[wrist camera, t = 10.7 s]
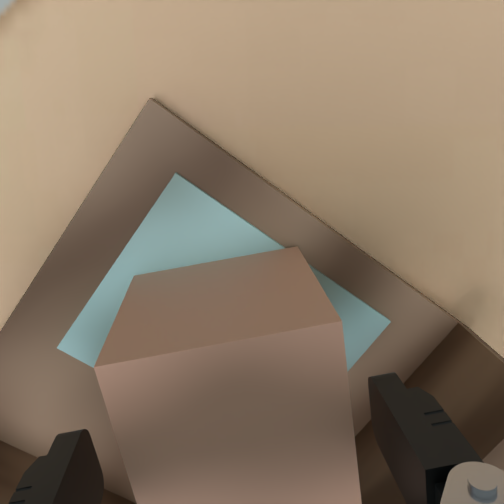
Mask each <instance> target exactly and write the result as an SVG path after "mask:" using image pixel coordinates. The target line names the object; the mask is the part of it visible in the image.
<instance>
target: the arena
mask: <svg viewBox="0 0 504 504" xmlns="http://www.w3.org/2000/svg"><path fill="white" fill-rule="evenodd" d="M295 246H298V248H299V250H300V251H301V253H302V255H303V256H304V258H305V260H306V261H307V263H308V265H309V266H310V268H311V270H312V271H313V273H314V275H315V276H316V278H317V280H318V281H319V283H320V285H321V287H322V288H323V290H324V292H325V293H326V295H327V297H328V298H329V300H330V302H331V303H332V305H333V307H334V308H335V310H336V312H337V313H338V315H339V317H340V318H341V320H342V325H343V335H344V344H345V353H346V362H347V372H348V381H349V390H350V399H351V409H352V418H353V427H354V436H355V446H356V455H357V464H358V473H359V483H360V492H361V501H362V504H406V502H405V499H404V497H403V495H402V493H401V491H400V489H399V487H398V485H397V483H396V481H395V479H394V477H393V475H392V473H391V471H390V469H389V467H388V465H387V462H386V460H385V458H384V456H383V454H382V452H381V450H380V448H379V446H378V444H377V441H376V438H375V435H374V431H373V427H372V421H371V410H370V399H369V389H368V378H369V377H371V376H376V375H382V374H387V373H392V372H395V373H396V374H397V375H398V377H399V378H400V380H401V381H402V382H403V384H404V385H405V387H406V388H407V389H408V388H413V387H419V388H421V389H423V390H424V391H426V392H427V393H429V394H431V395H432V396H434V397H435V399H436V400H437V401H438V403H439V404H440V405H441V407H442V408H443V409H444V412H446V413H447V415H448V416H449V417H450V418H451V420H452V423H454V424H455V425H456V426H457V428H458V429H459V430H460V432H461V433H462V434H463V436H464V437H465V438H466V440H467V441H468V442H469V443H470V445H471V446H472V447H473V449H474V450H475V451H476V453H477V454H478V455H479V457H480V458H481V459H482V461H483V462H484V463H487V464H490V465H493V466H495V467H497V468H499V469H501V470H503V471H504V358H502V357H501V356H500V355H499V354H498V353H497V352H496V351H495V350H493V349H492V348H491V347H490V346H489V345H488V344H487V343H485V342H484V341H483V340H482V339H481V338H480V337H479V336H478V335H476V334H475V333H474V332H473V331H472V330H471V329H469V328H468V327H467V326H465V325H464V324H462V323H461V322H460V321H458V320H457V319H456V318H454V317H453V316H451V315H450V314H449V313H447V312H446V311H445V310H443V309H442V308H440V307H439V306H438V305H436V304H435V303H434V302H432V301H431V300H429V299H428V298H427V297H425V296H424V295H423V294H421V293H420V292H418V291H417V290H416V289H414V288H413V287H412V286H410V285H409V284H407V283H406V282H405V281H403V280H402V279H401V278H399V277H398V276H396V275H395V274H394V273H392V272H391V271H390V270H388V269H387V268H385V267H384V266H383V265H381V264H380V263H379V262H377V261H376V260H374V259H373V258H372V257H370V256H369V255H368V254H366V253H365V252H363V251H362V250H361V249H359V248H358V247H357V246H355V245H354V244H352V243H351V242H350V241H348V240H347V239H346V238H344V237H343V236H341V235H340V234H339V233H337V232H336V231H335V230H333V229H332V228H330V227H329V226H328V225H326V224H325V223H324V222H322V221H321V220H319V219H318V218H317V217H315V216H314V215H313V214H311V213H310V212H308V211H307V210H306V209H304V208H303V207H302V206H300V205H299V204H297V203H296V202H295V201H293V200H292V199H291V198H289V197H288V196H286V195H285V194H284V193H282V192H281V191H280V190H278V189H277V188H275V187H274V186H273V185H271V184H270V183H269V182H267V181H266V180H264V179H263V178H262V177H260V176H259V175H258V174H256V173H255V172H253V171H252V170H251V169H249V168H248V167H247V166H245V165H244V164H242V163H241V162H240V161H238V160H237V159H236V158H234V157H233V156H231V155H230V154H229V153H227V152H226V151H225V150H223V149H222V148H220V147H219V146H218V145H216V144H215V143H214V142H212V141H211V140H209V139H208V138H207V137H205V136H204V135H203V134H201V133H200V132H198V131H197V130H196V129H194V128H193V127H192V126H190V125H189V124H187V123H186V122H185V121H183V120H182V119H181V118H179V117H178V116H176V115H175V114H174V113H172V112H171V111H170V110H168V109H167V108H165V107H164V106H163V105H161V104H160V103H159V102H157V101H156V100H154V99H152V98H149V100H148V102H147V103H146V105H145V106H144V108H143V109H142V111H141V112H140V114H139V116H138V117H137V119H136V120H135V122H134V123H133V125H132V127H131V128H130V130H129V131H128V133H127V134H126V136H125V138H124V139H123V141H122V142H121V144H120V145H119V147H118V148H117V150H116V152H115V153H114V155H113V156H112V158H111V159H110V161H109V163H108V164H107V166H106V167H105V169H104V170H103V172H102V173H101V175H100V177H99V178H98V180H97V181H96V183H95V184H94V186H93V188H92V189H91V191H90V192H89V194H88V195H87V197H86V199H85V200H84V202H83V203H82V205H81V206H80V208H79V209H78V211H77V213H76V214H75V216H74V217H73V219H72V220H71V222H70V224H69V225H68V227H67V228H66V230H65V231H64V233H63V234H62V236H61V238H60V239H59V241H58V242H57V244H56V245H55V247H54V249H53V250H52V252H51V253H50V255H49V256H48V258H47V260H46V261H45V263H44V264H43V266H42V267H41V269H40V270H39V272H38V274H37V275H36V277H35V278H34V280H33V281H32V283H31V285H30V286H29V288H28V289H27V291H26V292H25V294H24V295H23V297H22V299H21V300H20V302H19V303H18V305H17V306H16V308H15V310H14V311H13V313H12V314H11V316H10V317H9V319H8V321H7V322H6V324H5V325H4V327H3V328H2V330H1V331H0V504H9V501H10V499H11V497H12V495H13V493H14V492H16V487H17V485H18V483H19V482H20V480H21V478H22V476H23V474H24V472H25V471H26V470H27V469H28V468H29V467H30V466H31V465H32V464H33V463H34V462H35V461H36V459H37V458H38V457H40V456H45V455H47V454H48V452H49V450H50V448H51V445H52V443H53V441H54V439H55V437H56V436H57V435H58V434H60V433H65V432H71V431H76V430H81V429H87V430H88V431H89V433H90V436H91V439H92V442H93V445H94V448H95V451H96V454H97V457H98V460H99V463H100V466H101V469H102V473H103V478H104V492H103V497H102V501H101V504H137V503H136V500H135V497H134V493H133V490H132V487H131V484H130V481H129V478H128V475H127V471H126V468H125V465H124V462H123V459H122V456H121V452H120V449H119V446H118V443H117V440H116V437H115V433H114V430H113V427H112V424H111V421H110V418H109V414H108V411H107V408H106V405H105V402H104V399H103V395H102V392H101V389H100V386H99V383H98V380H97V376H96V373H95V370H94V365H95V363H96V361H97V358H98V356H99V354H100V352H101V349H102V347H103V345H104V342H105V340H106V338H107V336H108V333H109V331H110V329H111V327H112V324H113V322H114V320H115V317H116V315H117V313H118V311H119V308H120V306H121V304H122V301H123V299H124V297H125V295H126V292H127V290H128V288H129V286H130V283H131V281H132V279H133V276H135V275H140V274H146V273H151V272H157V271H162V270H168V269H174V268H179V267H185V266H190V265H196V264H201V263H207V262H212V261H218V260H223V259H229V258H234V257H240V256H246V255H251V254H257V253H262V252H268V251H273V250H279V249H284V248H290V247H295Z"/></svg>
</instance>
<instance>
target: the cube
mask: <svg viewBox="0 0 504 504" xmlns="http://www.w3.org/2000/svg"><path fill="white" fill-rule="evenodd" d="M94 370H95V373H96V376H97V380H98V383H99V386H100V389H101V392H102V395H103V399H104V402H105V405H106V408H107V411H108V414H109V418H110V421H111V424H112V427H113V430H114V433H115V437H116V440H117V443H118V446H119V449H120V452H121V456H122V459H123V462H124V465H125V468H126V471H127V475H128V478H129V481H130V484H131V487H132V490H133V493H134V497H135V500H136V503H137V504H362V501H361V492H360V483H359V473H358V464H357V455H356V446H355V436H354V427H353V418H352V409H351V399H350V390H349V381H348V372H347V362H346V353H345V344H344V335H343V325H342V320H341V318H340V317H339V315H338V313H337V312H336V310H335V308H334V307H333V305H332V303H331V302H330V300H329V298H328V297H327V295H326V293H325V292H324V290H323V288H322V287H321V285H320V283H319V281H318V280H317V278H316V276H315V275H314V273H313V271H312V270H311V268H310V266H309V265H308V263H307V261H306V260H305V258H304V256H303V255H302V253H301V251H300V250H299V248H298V246H295V247H290V248H284V249H279V250H273V251H268V252H262V253H257V254H251V255H246V256H240V257H234V258H229V259H223V260H218V261H212V262H207V263H201V264H196V265H190V266H185V267H179V268H174V269H168V270H162V271H157V272H151V273H146V274H140V275H135V276H133V279H132V281H131V283H130V286H129V288H128V290H127V292H126V295H125V297H124V299H123V301H122V304H121V306H120V308H119V311H118V313H117V315H116V317H115V320H114V322H113V324H112V327H111V329H110V331H109V333H108V336H107V338H106V340H105V342H104V345H103V347H102V349H101V352H100V354H99V356H98V358H97V361H96V363H95V365H94Z"/></svg>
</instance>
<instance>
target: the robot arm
mask: <svg viewBox="0 0 504 504" xmlns="http://www.w3.org/2000/svg"><path fill="white" fill-rule="evenodd" d="M368 389H369V399H370V410H371V421H372V427H373V431H374V435H375V438H376V441H377V444H378V446H379V448H380V450H381V452H382V454H383V456H384V458H385V460H386V462H387V465H388V467H389V469H390V471H391V473H392V475H393V477H394V479H395V481H396V483H397V485H398V487H399V489H400V491H401V493H402V495H403V497H404V499H405V502H406V504H504V471H503V470H501V469H499V468H497V467H495V466H493V465H490V464H487V463H484V462H483V461H482V459H481V458H480V457H479V455H478V454H477V453H476V451H475V450H474V449H473V447H472V446H471V445H470V443H469V442H468V441H467V440H466V438H465V437H464V436H463V434H462V433H461V432H460V430H459V429H458V428H457V426H456V425H455V424H454V423H452V420H451V418H450V417H449V416H448V415H447V413H446V412H444V409H443V408H442V407H441V405H440V404H439V403H438V401H437V400H436V399H435V397H434V396H432V395H431V394H429V393H427V392H426V391H424V390H423V389H421V388H419V387H413V388H408V389H407V388H406V387H405V385H404V384H403V382H402V381H401V380H400V378H399V377H398V375H397V374H396V373H395V372H392V373H387V374H382V375H376V376H371V377H369V378H368ZM103 492H104V478H103V473H102V469H101V466H100V463H99V460H98V457H97V454H96V451H95V448H94V445H93V442H92V439H91V436H90V433H89V431H88V430H87V429H81V430H76V431H71V432H65V433H60V434H58V435H57V436H56V437H55V439H54V441H53V443H52V445H51V448H50V450H49V452H48V454H47V455H45V456H40V457H38V458H37V459H36V461H35V462H34V463H33V464H32V465H31V466H30V467H29V468H28V469H27V470H26V471H25V472H24V474H23V476H22V478H21V480H20V482H19V483H18V485H17V487H16V492H14V493H13V495H12V497H11V499H10V501H9V504H101V501H102V497H103Z"/></svg>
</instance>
